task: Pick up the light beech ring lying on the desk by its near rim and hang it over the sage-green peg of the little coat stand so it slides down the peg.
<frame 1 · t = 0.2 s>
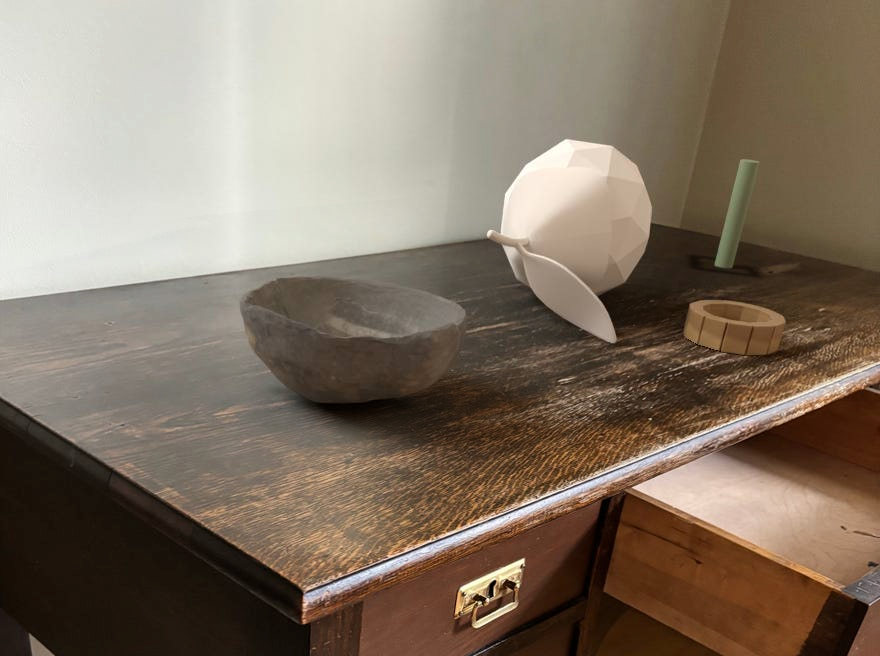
pear ornament: (555, 311, 109), on the table
bowl: (350, 397, 80), on the table
coat post: (721, 274, 131), on the table
ring: (729, 340, 104), on the table
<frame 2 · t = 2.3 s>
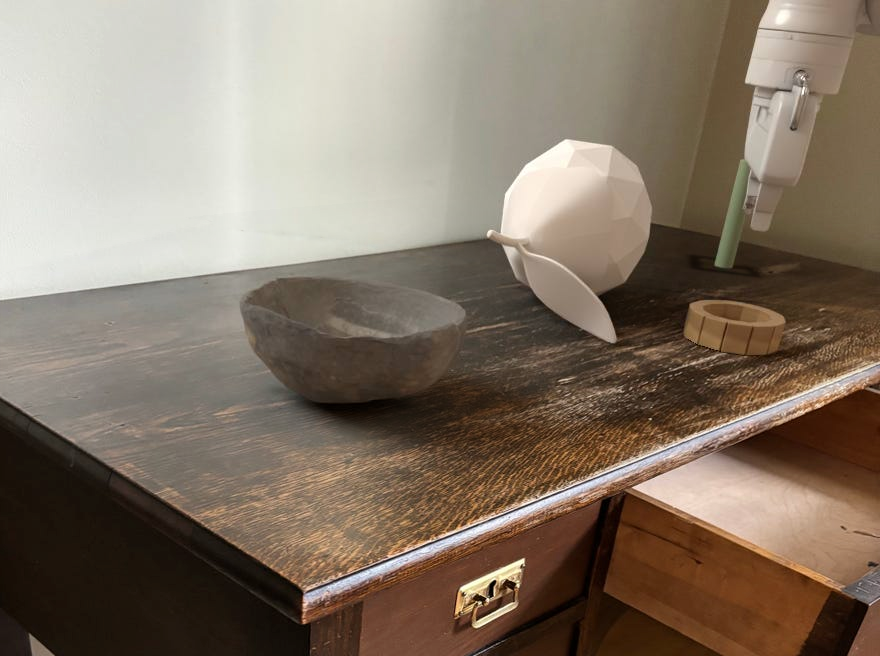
hand: (754, 221, 101), 11 cm above the table, tool pointing down, fingers open, 8 cm apart
nothing on the table moved.
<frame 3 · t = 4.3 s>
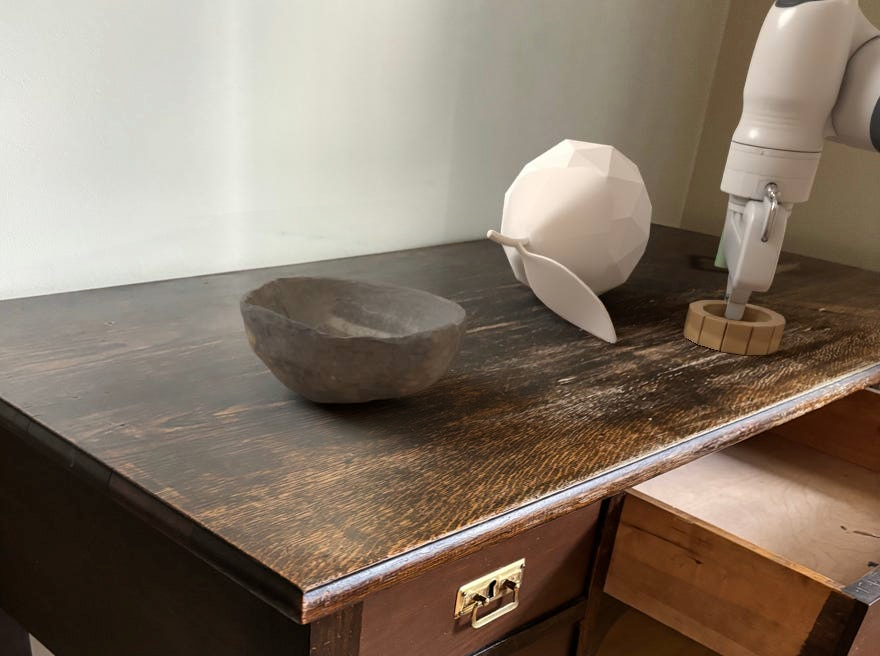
hand: (731, 315, 106), 2 cm above the table, tool pointing down, fingers closed on ring
ring: (729, 340, 104), on the table, touching gripper
everything else where it was.
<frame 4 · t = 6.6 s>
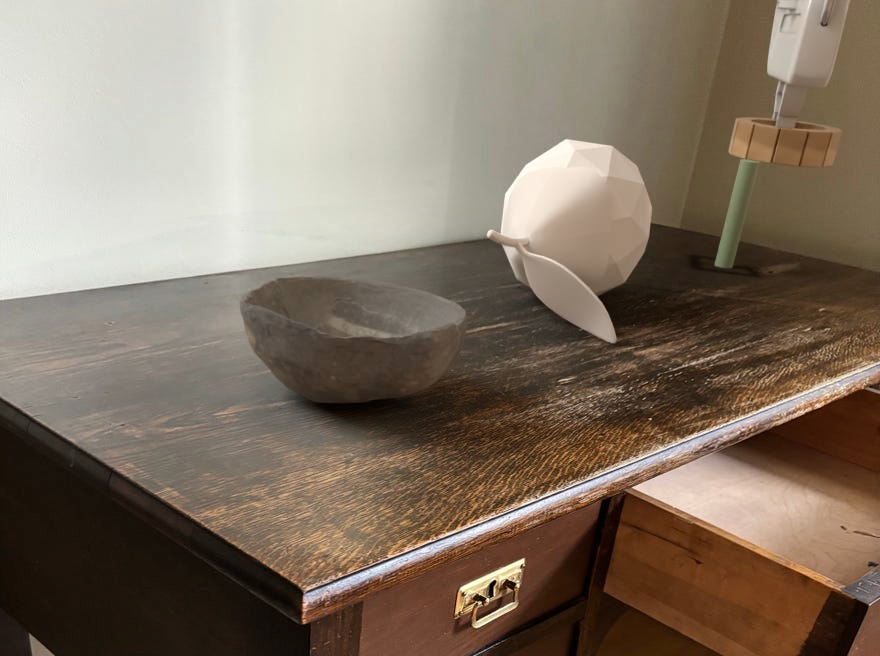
hand: (780, 134, 98), 19 cm above the table, tool pointing down, fingers closed on ring
ring: (779, 158, 95), point 18 cm above the table, touching gripper
everything else where it was.
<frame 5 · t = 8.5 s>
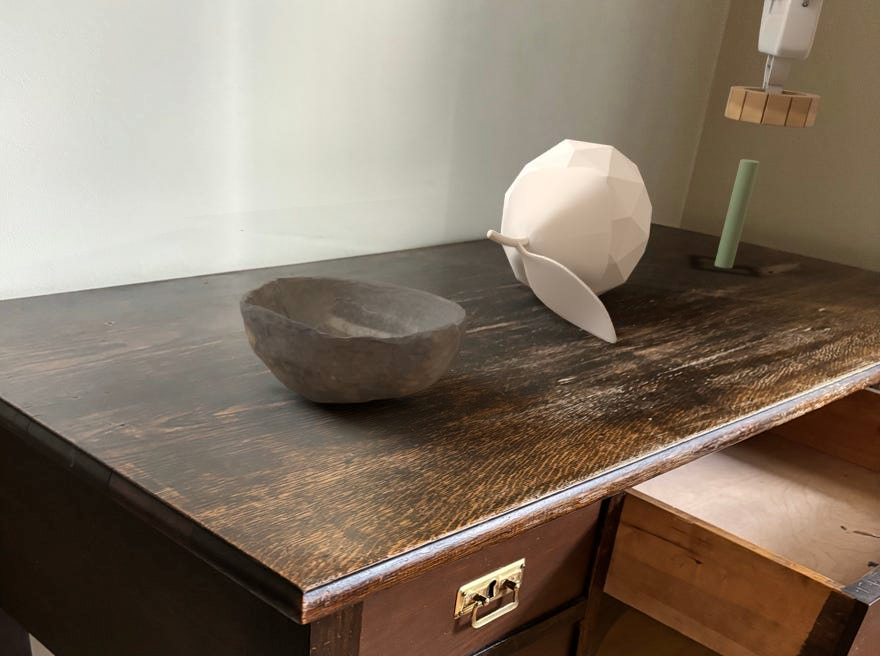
hand: (769, 101, 114), 21 cm above the table, tool pointing down, fingers closed on ring
ring: (768, 121, 112), point 19 cm above the table, touching gripper
everything else where it was.
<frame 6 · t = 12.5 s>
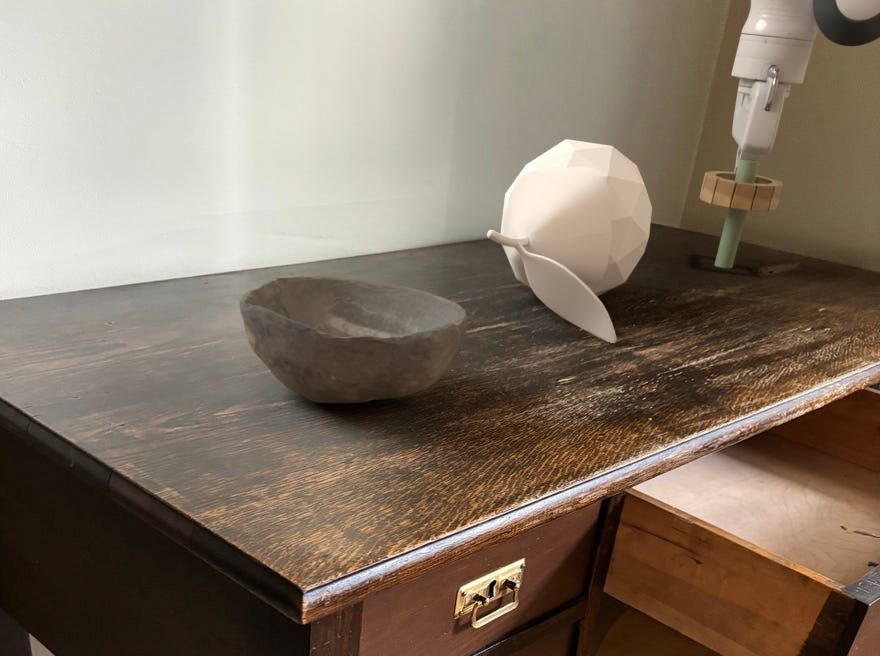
hand: (739, 184, 129), 11 cm above the table, tool pointing down, fingers closed on ring
ring: (737, 203, 127), point 9 cm above the table, touching gripper
everything else where it was.
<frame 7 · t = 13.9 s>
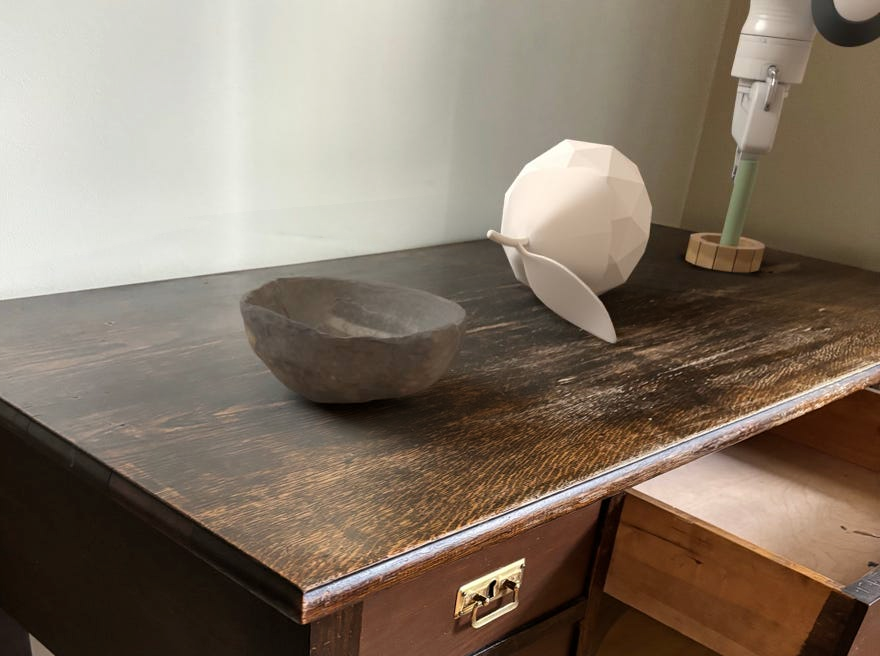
hand: (738, 183, 130), 11 cm above the table, tool pointing down, fingers open, 3 cm apart
ring: (721, 263, 132), point 1 cm above the table, touching coat post
everything else where it was.
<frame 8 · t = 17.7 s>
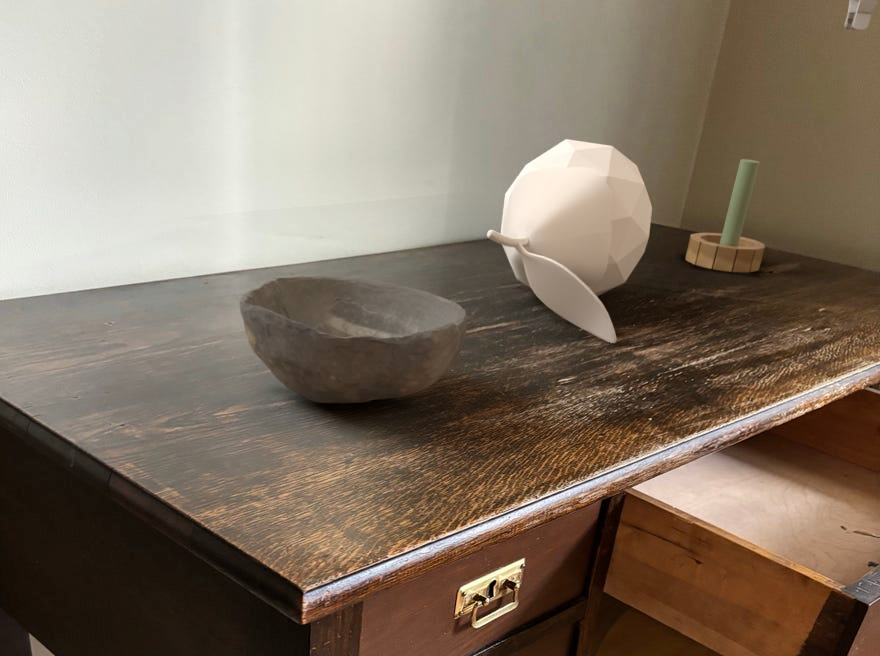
hand: (854, 29, 124), 29 cm above the table, tool pointing down, fingers open, 4 cm apart
nothing on the table moved.
at the end: ring 1.8 cm off-centre on the coat post, point 1.0 cm above the coat post's base; the gripper is holding nothing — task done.
